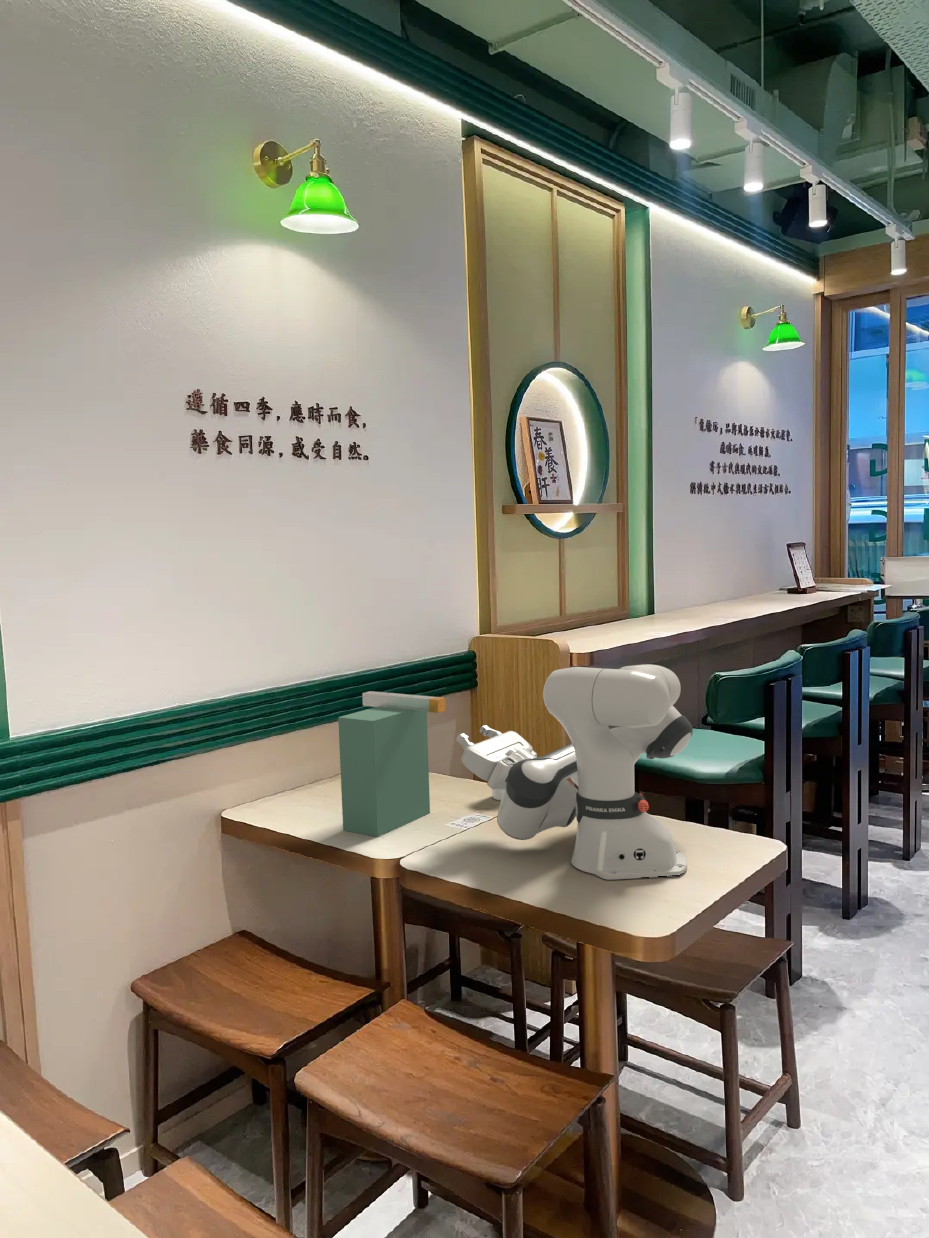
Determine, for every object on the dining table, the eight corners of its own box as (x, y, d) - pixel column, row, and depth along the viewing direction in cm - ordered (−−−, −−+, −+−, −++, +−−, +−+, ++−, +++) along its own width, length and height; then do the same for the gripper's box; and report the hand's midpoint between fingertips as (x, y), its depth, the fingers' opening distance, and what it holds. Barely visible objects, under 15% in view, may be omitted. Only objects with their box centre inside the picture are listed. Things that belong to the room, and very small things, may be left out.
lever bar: (445, 710, 213) (445, 697, 212) (438, 712, 210) (437, 699, 210) (370, 703, 225) (370, 691, 224) (362, 705, 222) (362, 693, 222)
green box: (430, 812, 222) (426, 705, 220) (377, 836, 206) (373, 720, 203) (396, 807, 228) (392, 702, 225) (343, 830, 211) (338, 717, 209)
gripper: (546, 746, 209) (500, 712, 215) (500, 767, 192) (450, 729, 198) (535, 769, 211) (489, 734, 217) (487, 791, 194) (439, 752, 200)
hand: (470, 732), depth 208 cm, fingers open, 8 cm apart
